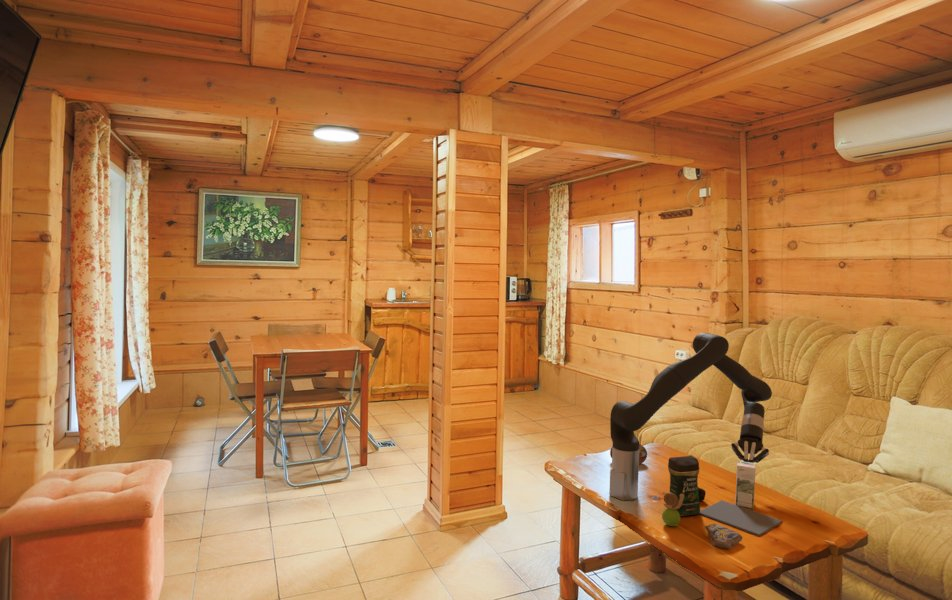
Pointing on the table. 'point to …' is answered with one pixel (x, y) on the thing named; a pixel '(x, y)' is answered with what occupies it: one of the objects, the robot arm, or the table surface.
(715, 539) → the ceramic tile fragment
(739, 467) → the syrup box
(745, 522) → the charcoal mat
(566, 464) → the table surface
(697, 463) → the coffee jar
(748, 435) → the robot arm
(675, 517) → the snail figurine
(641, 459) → the tin
